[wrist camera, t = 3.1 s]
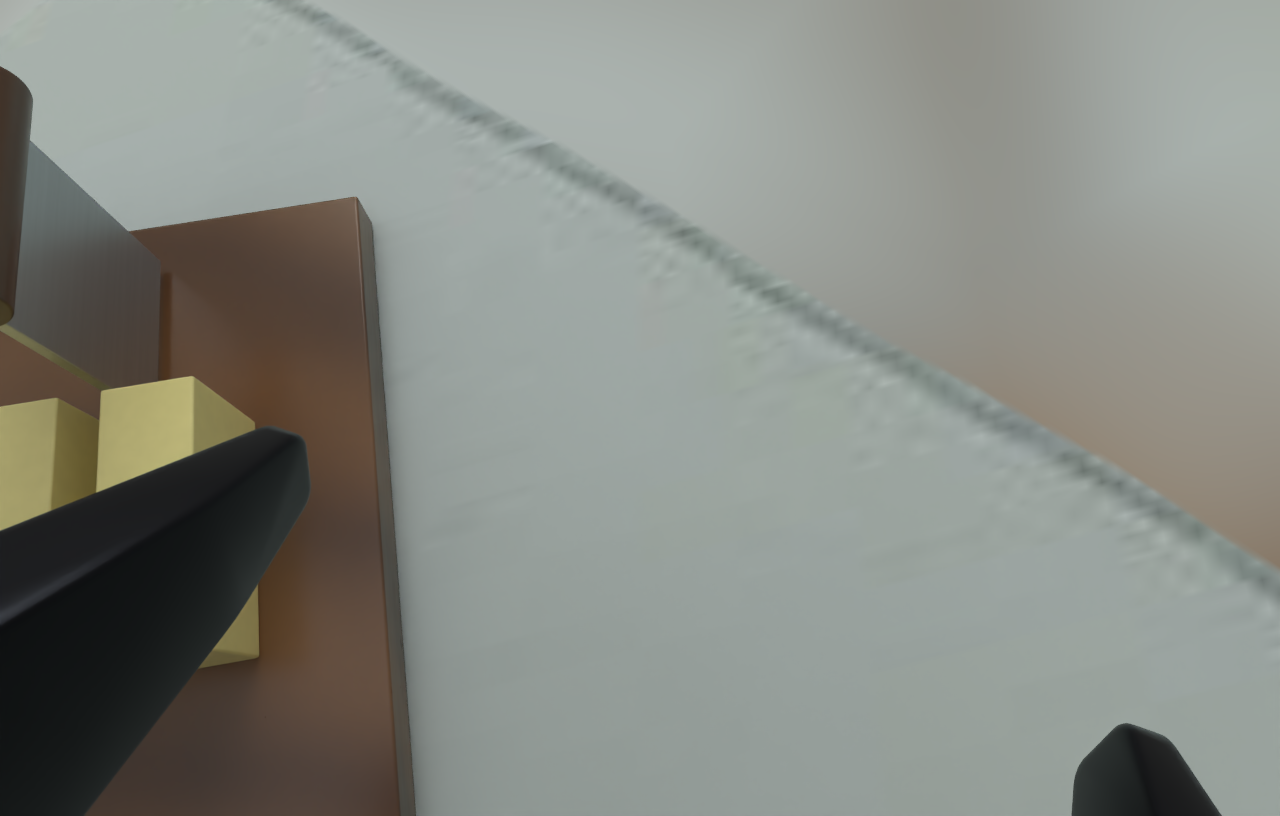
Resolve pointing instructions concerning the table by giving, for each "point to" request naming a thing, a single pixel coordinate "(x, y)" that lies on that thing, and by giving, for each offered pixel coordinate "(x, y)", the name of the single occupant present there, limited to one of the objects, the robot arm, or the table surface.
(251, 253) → the cutting board
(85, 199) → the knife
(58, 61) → the table surface
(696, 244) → the table surface
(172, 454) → the butter
